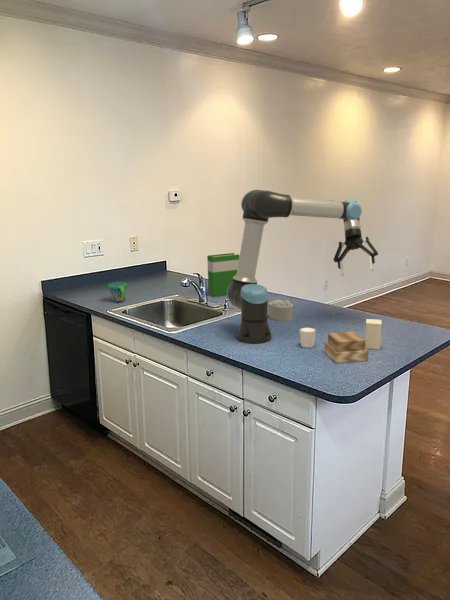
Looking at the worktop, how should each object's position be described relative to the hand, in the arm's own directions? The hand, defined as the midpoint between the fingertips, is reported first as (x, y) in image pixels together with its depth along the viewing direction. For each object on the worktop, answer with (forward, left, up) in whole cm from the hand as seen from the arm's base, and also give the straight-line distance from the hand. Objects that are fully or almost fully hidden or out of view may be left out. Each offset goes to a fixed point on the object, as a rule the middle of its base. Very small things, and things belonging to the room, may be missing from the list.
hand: (357, 272), depth 230 cm
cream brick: (-4, -29, -26) cm, 39 cm away
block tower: (-19, -37, -26) cm, 49 cm away
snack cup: (-114, +74, -26) cm, 139 cm away
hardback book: (-51, +76, -26) cm, 95 cm away
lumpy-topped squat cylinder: (-30, +20, -26) cm, 45 cm away
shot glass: (-30, -22, -26) cm, 46 cm away
